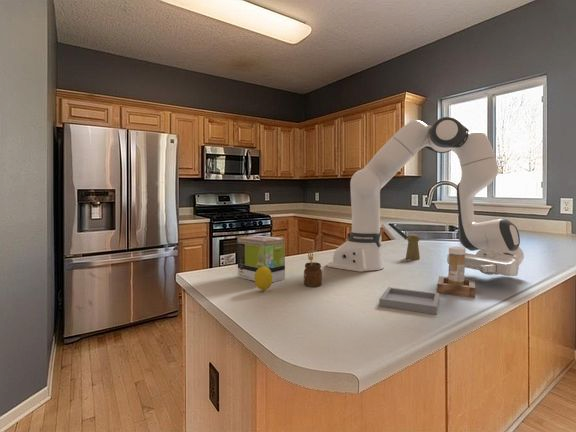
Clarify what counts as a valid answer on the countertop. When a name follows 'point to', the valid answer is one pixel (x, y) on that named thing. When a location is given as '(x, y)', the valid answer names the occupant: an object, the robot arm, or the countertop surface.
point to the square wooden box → (456, 287)
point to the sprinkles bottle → (456, 265)
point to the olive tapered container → (412, 247)
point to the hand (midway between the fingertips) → (466, 266)
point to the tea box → (261, 256)
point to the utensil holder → (312, 272)
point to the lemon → (263, 278)
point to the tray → (410, 300)
